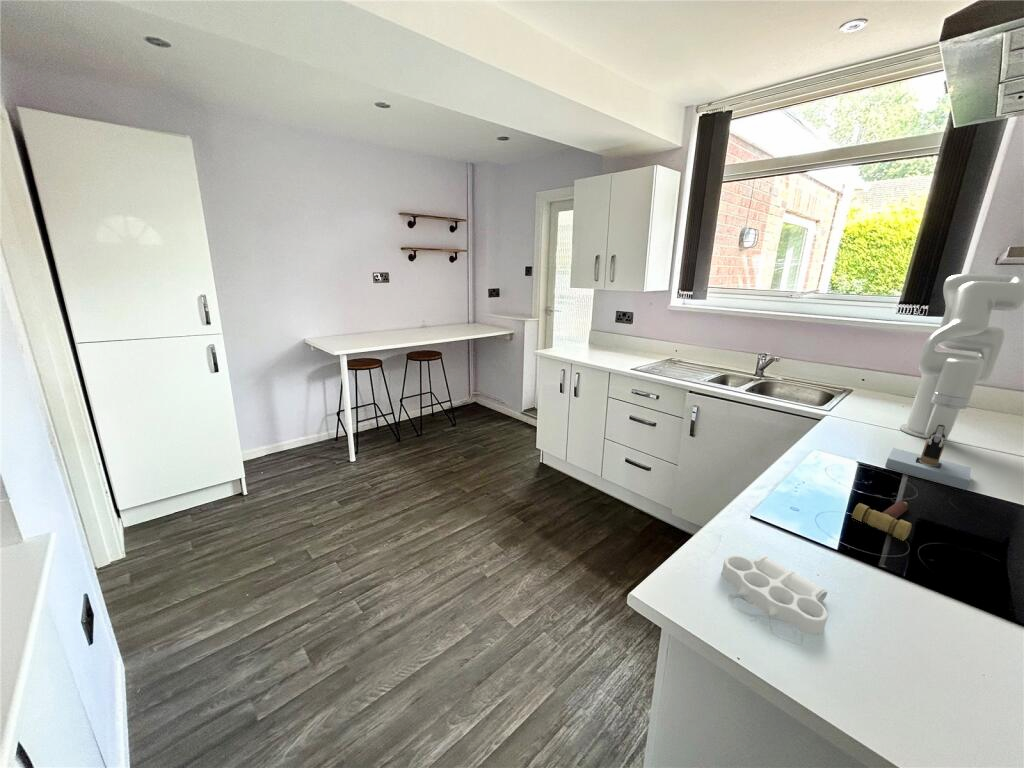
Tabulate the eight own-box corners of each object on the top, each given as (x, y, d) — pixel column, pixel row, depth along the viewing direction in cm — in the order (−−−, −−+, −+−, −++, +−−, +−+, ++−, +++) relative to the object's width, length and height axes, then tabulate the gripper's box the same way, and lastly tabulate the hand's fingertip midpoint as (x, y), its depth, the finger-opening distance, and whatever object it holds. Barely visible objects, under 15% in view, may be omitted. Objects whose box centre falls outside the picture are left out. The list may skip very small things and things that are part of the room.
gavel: (884, 487, 115) (933, 505, 107) (879, 502, 116) (927, 520, 109) (855, 505, 104) (907, 526, 96) (849, 521, 105) (901, 544, 97)
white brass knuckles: (844, 612, 77) (805, 649, 70) (748, 555, 92) (707, 580, 85) (849, 598, 77) (810, 633, 69) (751, 542, 91) (710, 566, 84)
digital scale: (890, 455, 141) (893, 447, 141) (967, 476, 129) (970, 467, 128) (885, 466, 134) (887, 458, 133) (966, 489, 121) (969, 480, 120)
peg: (917, 467, 134) (927, 438, 131) (935, 471, 131) (945, 442, 128) (915, 471, 131) (925, 441, 129) (934, 476, 129) (944, 446, 126)
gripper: (934, 391, 133) (918, 441, 138) (930, 402, 121) (912, 456, 126) (969, 397, 128) (950, 449, 133) (967, 410, 116) (947, 466, 121)
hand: (931, 452), depth 129 cm, fingers open, 9 cm apart
